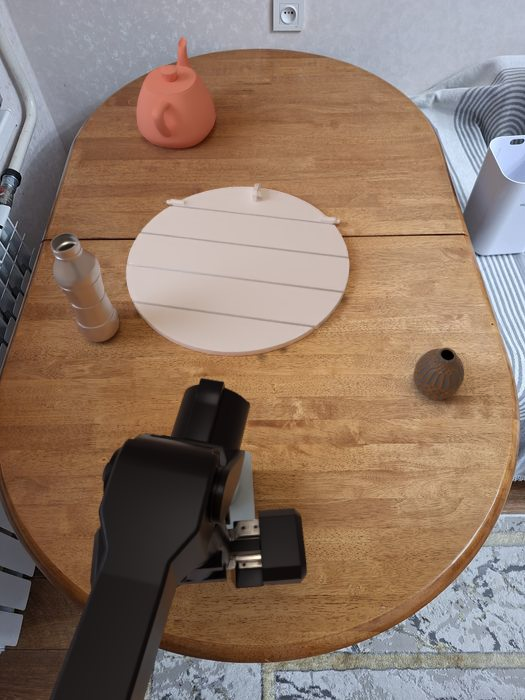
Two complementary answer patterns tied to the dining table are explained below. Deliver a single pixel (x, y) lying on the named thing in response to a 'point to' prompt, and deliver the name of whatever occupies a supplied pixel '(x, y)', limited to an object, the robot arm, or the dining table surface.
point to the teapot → (175, 105)
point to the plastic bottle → (84, 288)
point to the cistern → (243, 495)
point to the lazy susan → (237, 270)
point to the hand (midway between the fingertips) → (209, 573)
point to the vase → (439, 373)
